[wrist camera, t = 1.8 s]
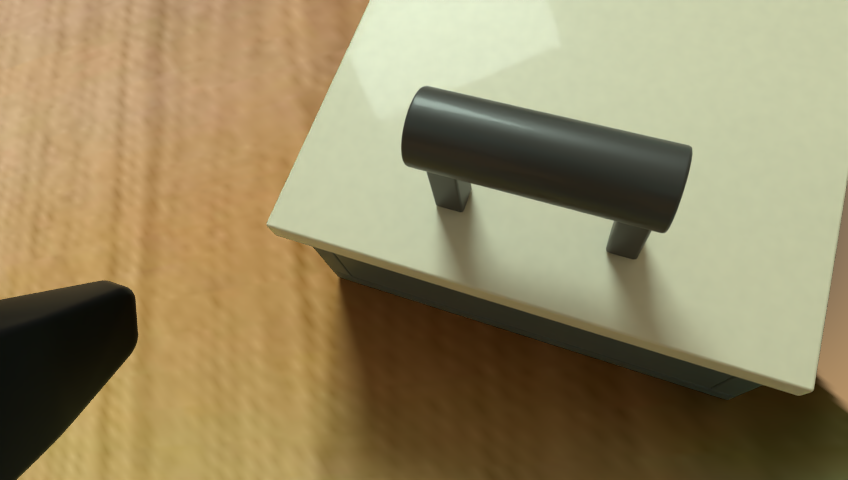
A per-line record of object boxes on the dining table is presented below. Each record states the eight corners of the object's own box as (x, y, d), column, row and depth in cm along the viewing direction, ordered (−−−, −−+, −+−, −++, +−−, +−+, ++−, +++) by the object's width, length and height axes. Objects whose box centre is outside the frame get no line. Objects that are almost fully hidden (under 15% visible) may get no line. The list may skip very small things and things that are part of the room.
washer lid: (800, 397, 13) (930, 355, 9) (274, 235, 16) (190, 148, 12) (874, -45, 17) (991, -221, 13) (432, -111, 20) (409, -270, 16)
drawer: (728, 400, 18) (803, 369, 13) (337, 277, 21) (285, 215, 16) (794, 74, 22) (873, -44, 17) (449, 7, 25) (432, -109, 20)
